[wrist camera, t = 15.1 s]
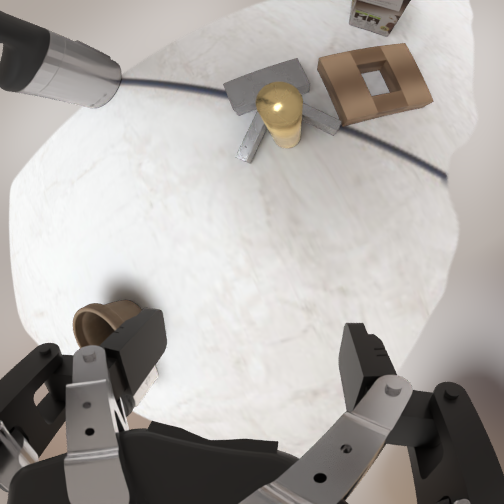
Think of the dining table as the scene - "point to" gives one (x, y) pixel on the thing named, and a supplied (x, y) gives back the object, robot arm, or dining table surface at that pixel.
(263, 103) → the axle
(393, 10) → the coffee box
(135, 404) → the jar
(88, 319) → the flower pot
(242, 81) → the v block
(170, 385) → the dining table surface
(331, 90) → the hollow rectangular block
